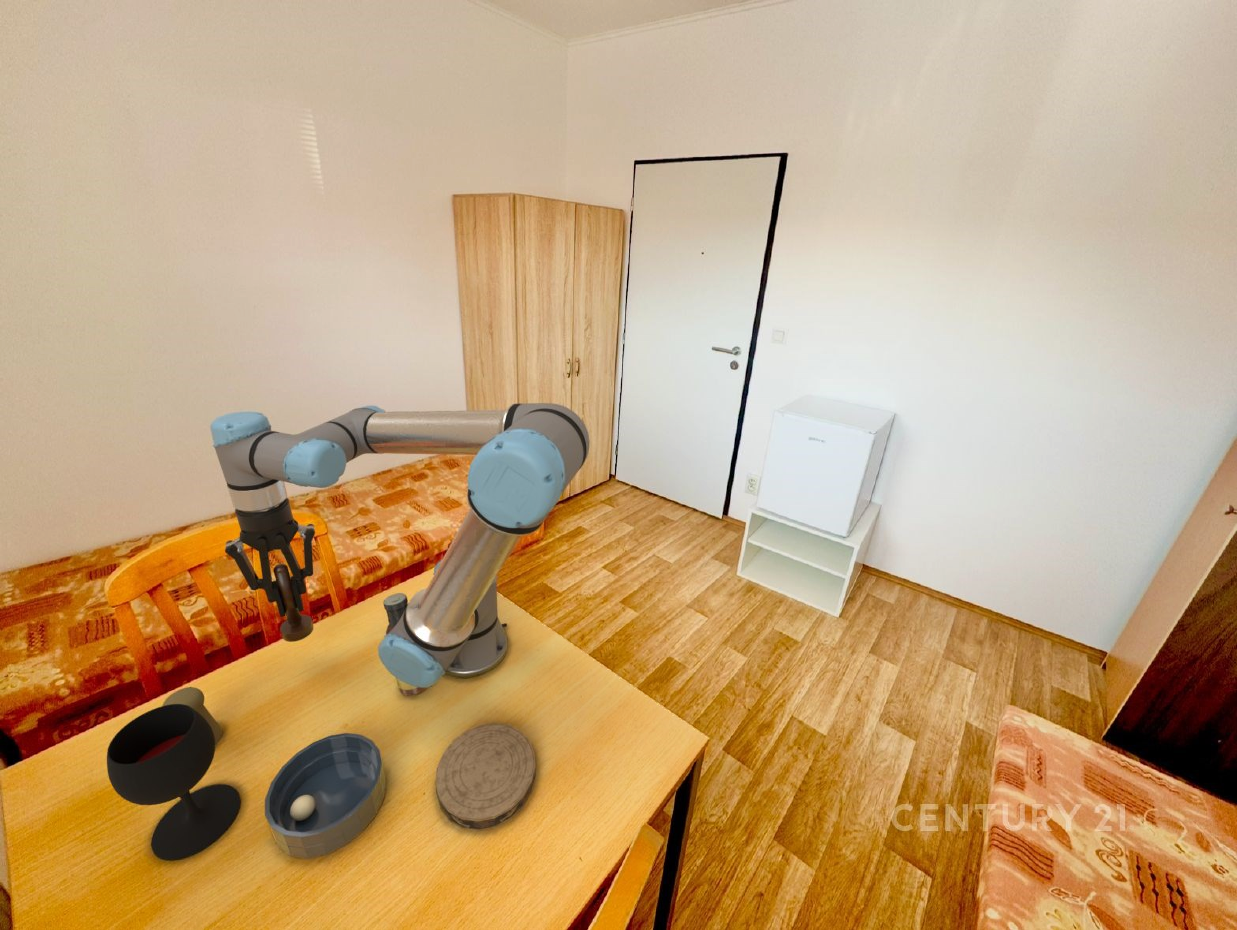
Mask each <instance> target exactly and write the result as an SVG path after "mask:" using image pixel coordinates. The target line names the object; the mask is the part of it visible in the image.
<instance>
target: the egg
mask: <svg viewBox="0 0 1237 930" xmlns="http://www.w3.org/2000/svg"><path fill="white" fill-rule="evenodd" d="M314 808H315V800H314V798H313V797H312V796H310V795H303V796H300V797H299V798H297V799H296V800H295V801H294V802H293V804H292V806H291V809H290V815H291V817H292V818H293V819H294V820H296V821H301V820H304V819H306V818H308V817H309V816H310V815H311V814H312V812H313V811H314Z"/></svg>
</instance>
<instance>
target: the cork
mask: <svg viewBox="0 0 1237 930" xmlns="http://www.w3.org/2000/svg"><path fill="white" fill-rule="evenodd" d="M170 704H184V705H188V706H190V707H192V708H193V709H194V710H196V711H197V712H198V713H200V714H201V715H202V716H203V717H204V718H205V719H206V720H207V722H208V723H209V725H210V726H211V728H212V730H213V733H214V737H215V746H216V745H217V744H218V743H219V742H220V741H221V738H222V737H223V730H222V728H221V726H220V725H219V723H218V722H217V720H216V719H215V718H214V717H213V715H212V714H211V712H210V711H209V710H208V708H207V707H206V706H205V705H204V704H205V695H204V692H203V691H202V690H201V689H199V688H198V687H193V686H188V687H184V688H181V689H178V690H176V691H174V692H173V693H171V694H169V696H167V697H166V698H165V700H164V701H163V703H162V706H165V705H170Z"/></svg>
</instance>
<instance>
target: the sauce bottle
mask: <svg viewBox="0 0 1237 930" xmlns="http://www.w3.org/2000/svg"><path fill="white" fill-rule="evenodd" d="M382 603H383V608H384V610H385V611H386V616H387V621H388V625H387V627H386V630H385V635H386V634H389V632H390V631H391V630H392V629H393V628H394V627H395V626H396V624H397V623H398V622H399V620H400V618H401V616H402V615H403V613H404V611H405V609H406V607H407V605H408V603H409V599H408V596H407V594H405V593H403V592H398V593H393V594H391V595H388V596H387V597H386V598H384V599H383V602H382ZM394 678H395V681H396V686H397V687H398V688H399V692H400V693H401V695H403V696H405V697H414V696H417V695H419V694H421V693H423V692H424V691H426V690H427V689H428V687H427V688H420V687H415V686H411V685H409V684H406V683H404V682H402V681H401V680H399V679H398V678H396V677H395V676H394Z"/></svg>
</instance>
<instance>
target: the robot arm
mask: <svg viewBox="0 0 1237 930" xmlns="http://www.w3.org/2000/svg"><path fill="white" fill-rule="evenodd" d="M209 430H210V433H211V437H212V441H213V445H212V447H213V448H214V450H215V454H216V456H217V459H218V462H219V466H220V468H221V472H222V474H223V477H224V480H225V483H226V488H227V491H228V494H229V496H230V499H231V500H230V501H231V504H232V506H233V508H234V512H235V516H236V519H237V523H238V525H239V528H240V532H239V536H238V537H237V538H235V539H233V540H231V539H230V540H227V541H226V542H225V548H224V552H225V554H227V555H228V556H229V557H231V558H232V559H233V560H234V562H235V563H236V565H237V567H238V568H239V570H240V572H241V574H242V576H243V577H244V580H245V581H246V583H247V585H248V586H249V587H248V588H249V589H250V590H251V591H257V590H264V592H265V596H266V599H267V601H268V603H270V604H271V603H276V606H277V610H278V613H279V616H280V618H283V617H286V613H285V609H284V606H283V602H282V599H281V595H280V592H279V588H278V585H277V582H276V579H275V580H273V577H272V576H273V575H272V569H271V568H272V567H271V560H270V552H273V551H278V550H279V551H280V552H281V554H282V555H283V557H284V559H285V561H286V563H287V564H286V565H287V567H288V569H289V571H290V573H291V575H290V577H291V585H292V589H293V593H294V596H295V600H296V603H297V607H298V611H299V612H300V613H301V612H304V602H303V598H302V595H305V594H306V593H307V585H306V581H305V579H306V578H308V577H312V576H313V575H314V559H313V543H312V542H313V540H314V537H315V535H316V530H315V524H313V523H308V524H307V525H304V524H299V522H298V520H296V519H295V518H294V516H293V512H292V508H291V504H290V500H289V498H288V492H287V488H286V485H285V483H287V484H288V483H289V484H293V485H296V486H299V487H305V488H307V487H311V488H319V489H325V488H329V487H332V486H334V485H336V484H337V483H338V482H339V480H340V477H341V476H343V475H344V473H345V471H346V467H347V464H348V463H350V462H351V461H353V460H354V459H356V458H358V457H360V456H362V455H366V454H368V455H369V454H371V455H372V454H373V455H374V454H375V455H376V454H377V455H379V454H380V455H383V454H393V455H394V454H395V455H397V454H398V455H399V454H400V455H446V456H449V455H452V456H455V455H456V456H474V458H473V460H472V461H471V463H470V465H469V469H468V472H467V482H466V484H467V490H466V500H467V504H468V506H469V508H468V511H467V513H466V515H465V516H464V518H463V520H462V522H461V524H460V526H459V528H458V529H457V532H456V533H455V535H454V537H453V539H452V541H451V543H450V544H449V547H448V549H446V552H445V554H444V556H443V558H442V559H441V560H439V561H438V562H437V563H436V565H435V566H434V569H433V573H432V575H433V576H432V578H431V580H430V582H429V584H428V586H427V587H426V588H423V589H421V590H419V591H417V592H416V593H415V594H414V595H413V596H412V597H411V598H410V600H408V603H407V604H408V605H407V607H406V609H405V611H404V613H403V615H402V616H401V618H400V620H399V622H398V623H397V624H396V626H395V627H394V628H393V629H392V630H391V631H390V632H389V634H386V633H385V634H384V636H383V638H382V640H381V642H380V643H379V645H378V648H377V654H378V658H379V660H380V662H381V664H382V665H383V666H384V668H385V669H386V670H387V671H388V672H389V673H390V674H391V675H392V676H393V677H394V678H395V677H396V678H398V679H399V680H401V681H402V682H404V683H406V684H409V685H411V686H415V687H420V688H427V689H428V688H431V687H433V686H435V685H436V684H437V683H438V682H439V681H440V679H441V678H443V677H444V676H445V675H446V676H447V677H451V678H454V679H461V680H462V679H463V680H464V679H465V680H467V679H475V678H478V677H481V676H483V675H486V674H488V673H490V672H491V671H493V670H494V669H495V668H497V667H498V666H499V665H500V664H501V663H502V661H503V660H504V659H505V657H506V654H507V652H508V636H507V632H506V630H505V629H504V628H505V627H507V626H508V624H507V623H506V622H505V623H501V621H500V618H499V616H498V611H499V610H498V586H497V585H498V583H497V582H498V575H499V573H500V571H501V570H502V568H503V567H504V566H505V564H506V562H507V560H508V559H509V557H510V556H511V554H512V553H513V551H514V550H515V548H516V547H517V545H518V543H519V542H520V540H521V538H522V537H523V536H528V535H532V534H533V533H536V532H537V531H538V530H539V529H540V528H541V526H542V525H543V523H544V522H545V520H546V519H547V517H548V516H549V514H551V512H552V510H553V509H554V507H556V505H557V503H558V502H559V500H560V499H561V496H562V495H563V493H564V492H565V491H566V489H567V487H568V486H569V484H571V482H572V480H573V479H574V478H575V477H576V475H577V474H578V473H579V472H580V470H581V469H582V467H583V466H584V464H585V462H586V461H587V459H588V455H589V452H590V444H591V442H590V435H589V431H588V429H587V426H586V424H585V422H584V421H583V420H582V418H581V417H580V416H579V415H578V414H577V413H576V412H574V411H573V410H572V409H570V408H568V407H566V406H564V405H561V404H559V403H552V402H551V403H549V402H547V403H546V402H533V403H531V402H530V403H528V402H526V403H512V404H510V405H509V406H508V407H507V409H488V410H487V409H486V410H484V409H483V410H482V409H479V410H413V411H409V410H407V411H386V410H384V408H380V407H378V406H377V405H371V404H370V405H364V406H361V407H356V408H354V409H352V410H349V411H348V412H346V413H344V414H342V415H339V416H337V417H335V418H332V419H330V420H328V421H325V422H323V423H321V424H318V425H316V426H313V427H311V428H309V429H306V430H304V431H301V432H299V433H295V434H291V433H286V432H279V431H276V430H272V425H271V424H270V421H269V419H268V417H267V416H266V415H265V414H264V413H262V412H258V411H249V410H248V411H236V412H230V413H227V414H223V415H220V416H218V417H216V418H215V419H213V420H212V421H211V422H210V426H209ZM297 533H299V537H300V538H301V539H302V543H303V558H304V567H301V566H300V563H299V561H298V558H297V556H296V554H295V552H294V549H293V546H292V544H291V543H292V541H293V539H294V538H295V536H296V535H297ZM245 545H246V546H248V547H250V548H252V549H253V550H256V551H257V552H258V555H259V562H260V570H261V571H260V572H261V577H262V578H260V577H259V576H258V574H257V572H256V570H255V568H254V566H253V565H252V563H251V561H250V559H249V557H248V555H247V553H246V551H245V550H244V549H245ZM396 678H395V679H396Z"/></svg>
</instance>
